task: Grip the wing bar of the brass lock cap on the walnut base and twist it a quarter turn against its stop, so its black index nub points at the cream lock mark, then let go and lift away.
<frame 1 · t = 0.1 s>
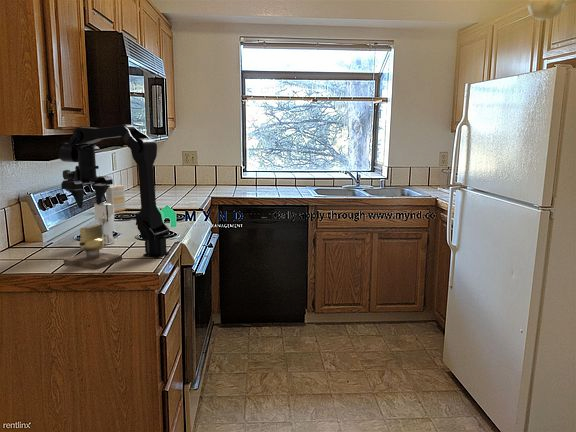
hand: (89, 206, 167), 15 cm above the counter, fingers open, 8 cm apart
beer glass: (105, 243, 175), on the counter, touching gripper
supplement box: (116, 211, 241), on the counter
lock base: (93, 261, 151), on the counter
lock cap: (90, 237, 149), point 8 cm above the counter, hinge at 0.0°
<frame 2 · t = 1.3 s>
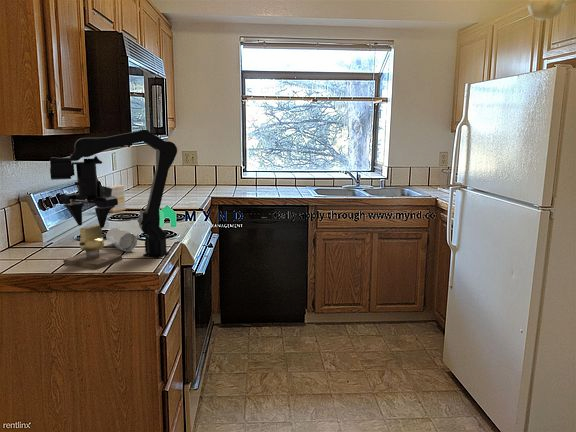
hand: (91, 226, 149), 12 cm above the counter, fingers open, 9 cm apart
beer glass: (114, 235, 174), point 3 cm above the counter
everything else where it was.
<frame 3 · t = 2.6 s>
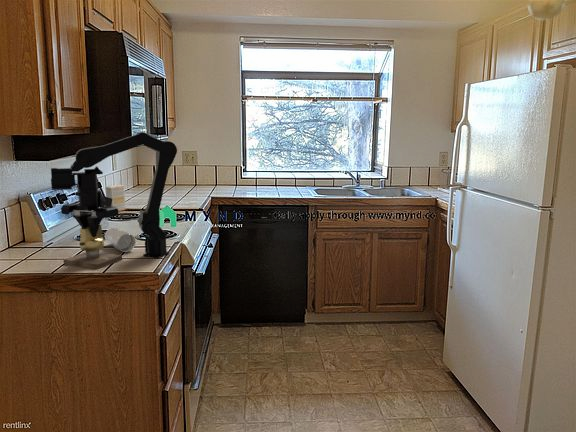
hand: (91, 236, 149), 9 cm above the counter, fingers closed on lock cap, 2 cm apart
lock cap: (90, 237, 149), point 8 cm above the counter, hinge at 0.0°, touching gripper
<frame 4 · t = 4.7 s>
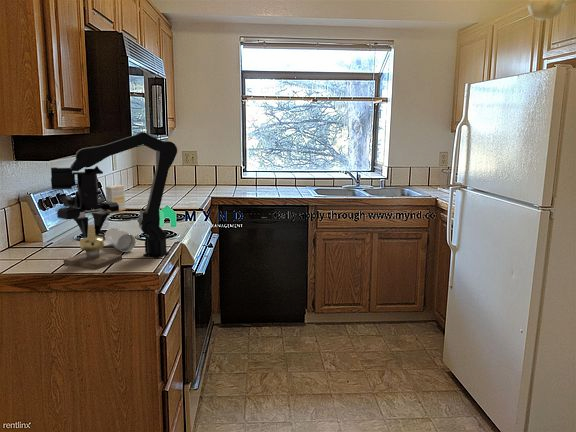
hand: (91, 236, 149), 9 cm above the counter, fingers closed on lock cap, 4 cm apart
lock cap: (91, 237, 149), point 8 cm above the counter, hinge at 47.7°, touching gripper
everything else where it was.
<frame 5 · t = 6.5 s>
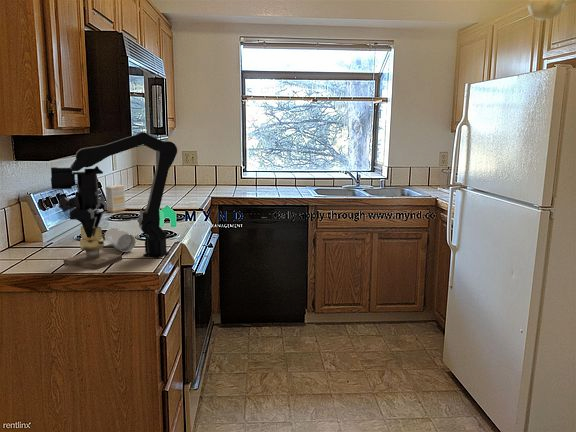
hand: (91, 236, 149), 9 cm above the counter, fingers closed on lock cap, 4 cm apart
lock cap: (92, 237, 149), point 8 cm above the counter, hinge at 86.5°, touching gripper
everything else where it was.
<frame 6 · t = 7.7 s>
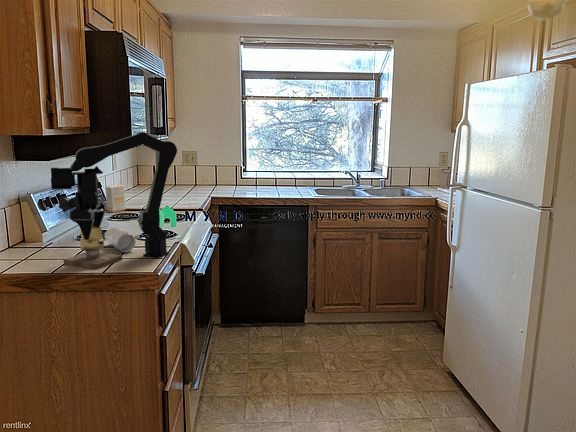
hand: (91, 236, 149), 9 cm above the counter, fingers open, 9 cm apart
lock cap: (93, 237, 149), point 8 cm above the counter, hinge at 87.3°
everything else where it was.
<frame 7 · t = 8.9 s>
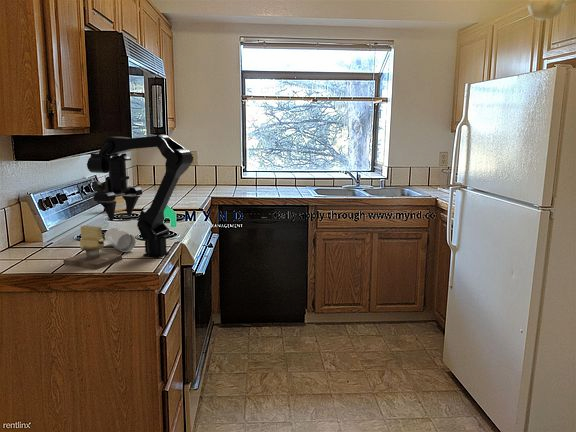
hand: (120, 218, 162), 12 cm above the counter, fingers open, 9 cm apart
nothing on the counter moved.
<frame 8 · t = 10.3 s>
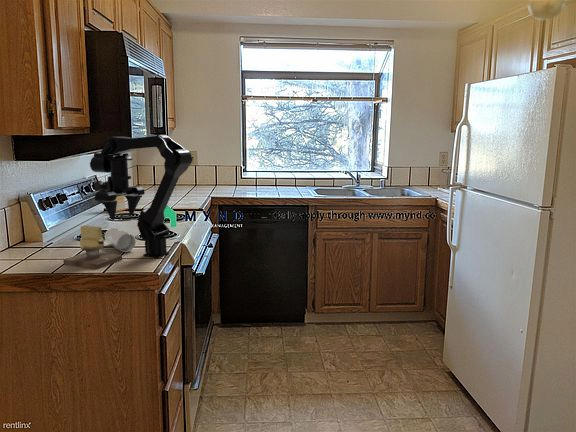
hand: (122, 217, 162), 12 cm above the counter, fingers open, 9 cm apart
nothing on the counter moved.
at the end: lock cap at +87° (first picture: +0°); the gripper is holding nothing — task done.
